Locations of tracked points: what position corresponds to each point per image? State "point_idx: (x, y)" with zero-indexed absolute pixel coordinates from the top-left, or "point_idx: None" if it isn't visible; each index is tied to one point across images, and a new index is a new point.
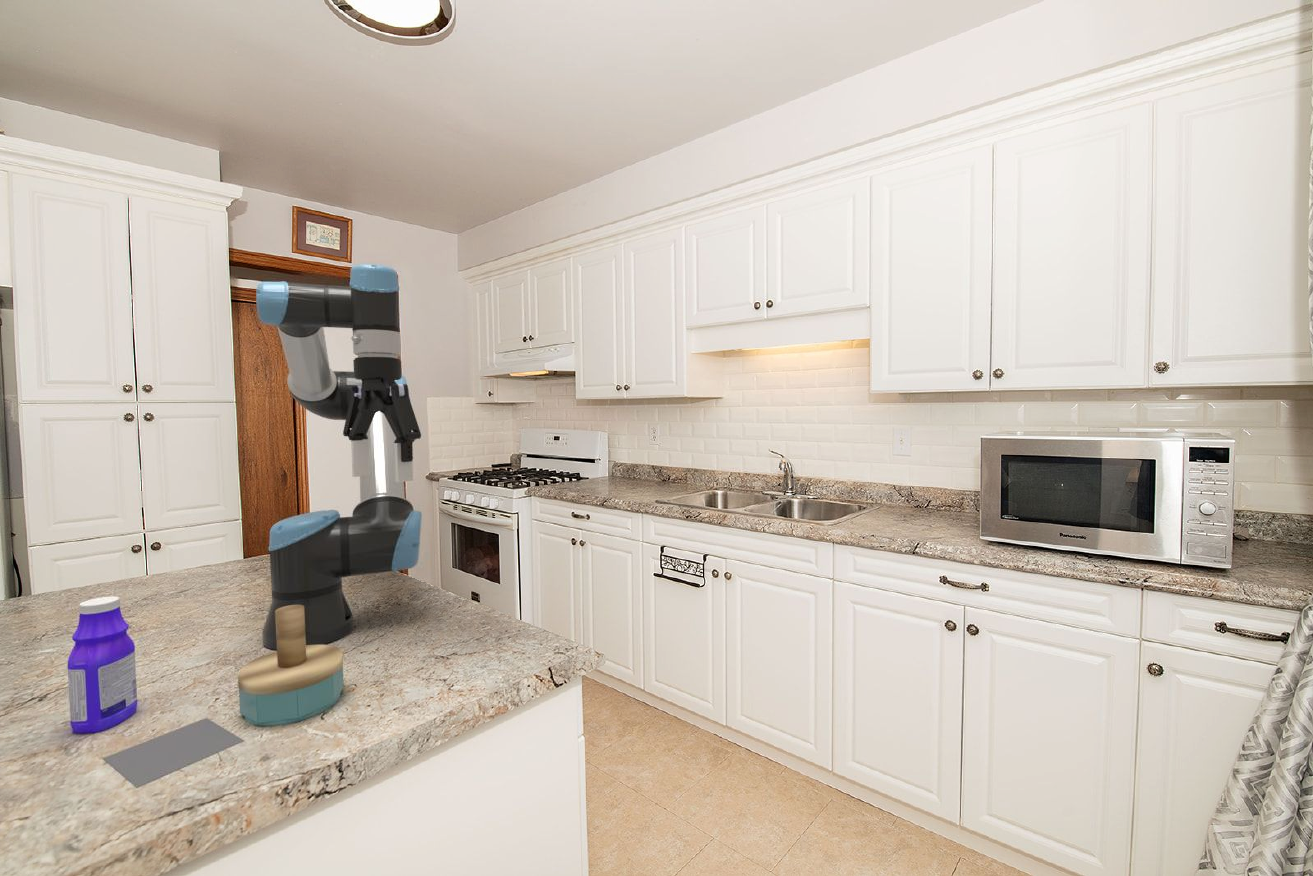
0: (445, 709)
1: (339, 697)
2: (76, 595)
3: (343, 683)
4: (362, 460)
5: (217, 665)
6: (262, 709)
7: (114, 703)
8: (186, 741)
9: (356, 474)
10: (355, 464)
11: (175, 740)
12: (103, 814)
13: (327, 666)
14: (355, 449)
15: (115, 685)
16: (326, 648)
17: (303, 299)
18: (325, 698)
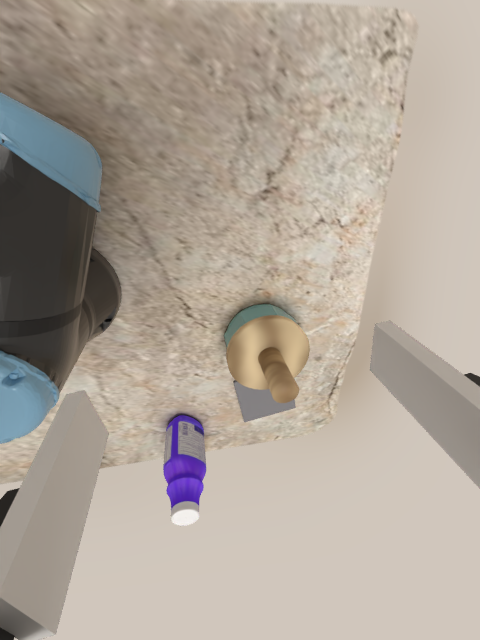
0: (369, 248)
1: (279, 308)
2: None
3: (271, 305)
4: (75, 471)
5: (110, 371)
6: None
7: (200, 434)
8: (260, 391)
9: (103, 436)
10: (93, 476)
11: (254, 396)
12: (303, 415)
13: (304, 337)
14: (69, 558)
15: (200, 444)
16: (260, 329)
17: None
18: None
